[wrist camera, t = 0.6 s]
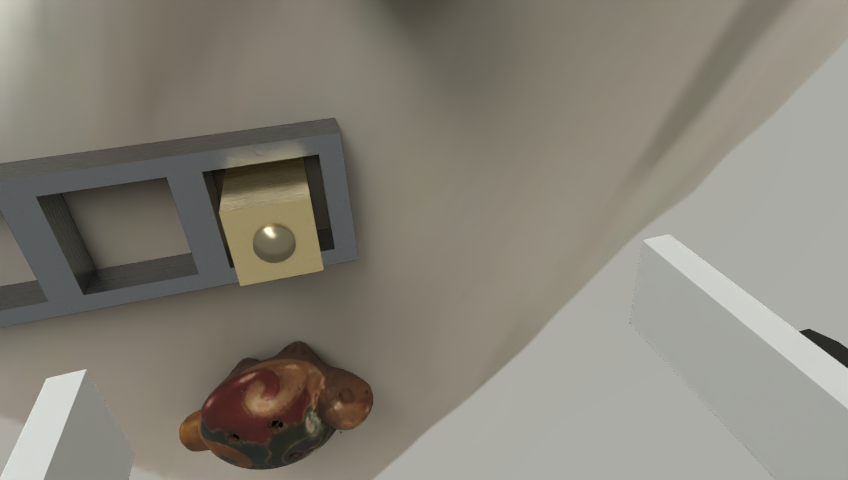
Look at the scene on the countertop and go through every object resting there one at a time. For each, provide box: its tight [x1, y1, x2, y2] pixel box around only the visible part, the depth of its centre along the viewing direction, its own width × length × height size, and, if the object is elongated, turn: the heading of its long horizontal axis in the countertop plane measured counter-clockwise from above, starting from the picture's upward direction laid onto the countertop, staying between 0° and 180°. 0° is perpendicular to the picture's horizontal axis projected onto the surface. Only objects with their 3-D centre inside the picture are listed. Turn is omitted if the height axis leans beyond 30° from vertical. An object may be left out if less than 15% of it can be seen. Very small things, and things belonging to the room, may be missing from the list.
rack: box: [0, 118, 358, 327], centre depth 34 cm, size 9×28×3 cm, turn 93°
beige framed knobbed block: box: [219, 157, 324, 286], centre depth 34 cm, size 5×5×7 cm
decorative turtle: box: [179, 342, 373, 469], centre depth 42 cm, size 10×15×8 cm, turn 111°
